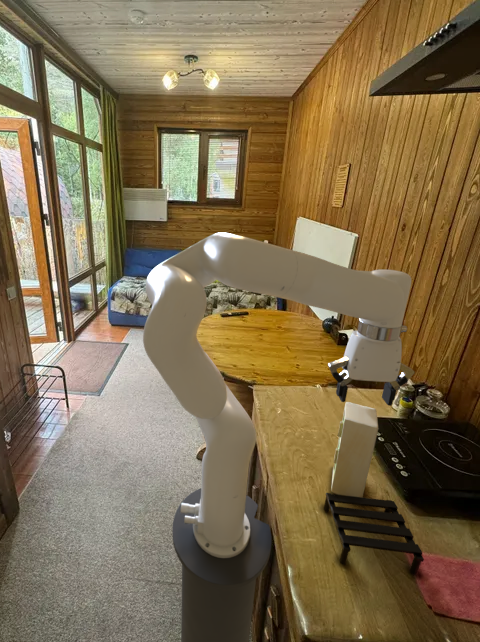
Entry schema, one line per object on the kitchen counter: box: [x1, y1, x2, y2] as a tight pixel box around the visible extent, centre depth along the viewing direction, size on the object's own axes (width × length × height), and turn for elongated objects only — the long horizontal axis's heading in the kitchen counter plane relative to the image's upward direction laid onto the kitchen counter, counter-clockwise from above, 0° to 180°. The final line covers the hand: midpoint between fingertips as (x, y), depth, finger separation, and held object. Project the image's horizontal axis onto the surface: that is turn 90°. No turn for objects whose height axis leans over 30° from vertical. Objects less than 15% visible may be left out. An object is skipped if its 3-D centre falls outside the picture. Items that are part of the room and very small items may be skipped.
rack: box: [323, 492, 425, 576], centre depth 63 cm, size 14×12×5 cm
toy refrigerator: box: [330, 401, 379, 498], centre depth 73 cm, size 8×7×21 cm
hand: (363, 400), depth 69 cm, fingers open, 9 cm apart
